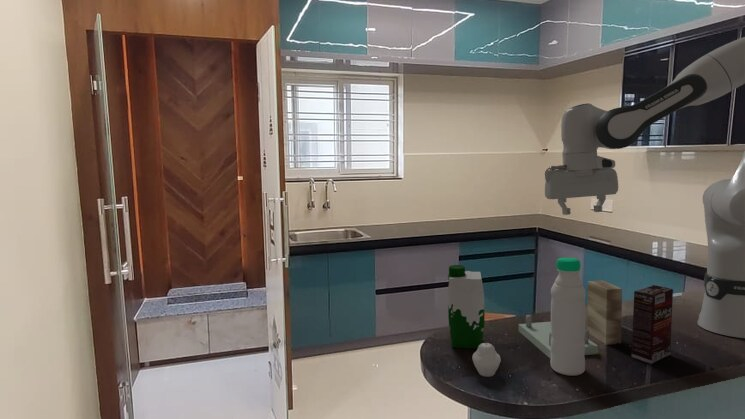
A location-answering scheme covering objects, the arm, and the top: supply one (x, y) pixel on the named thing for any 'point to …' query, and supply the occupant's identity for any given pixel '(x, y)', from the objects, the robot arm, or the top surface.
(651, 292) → the supplement box
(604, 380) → the top surface
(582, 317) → the water bottle
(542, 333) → the peg rest
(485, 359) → the white bulb shape
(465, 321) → the milk carton
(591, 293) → the upright wooden block
